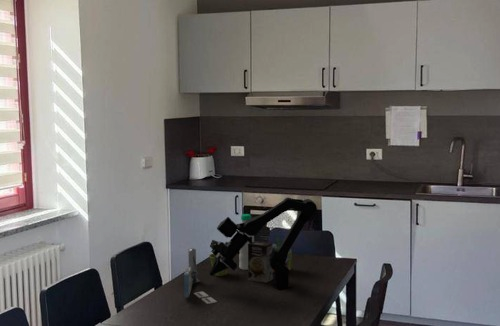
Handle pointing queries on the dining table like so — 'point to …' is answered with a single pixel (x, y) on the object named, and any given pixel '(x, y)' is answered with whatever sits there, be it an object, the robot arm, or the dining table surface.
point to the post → (193, 264)
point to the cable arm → (188, 281)
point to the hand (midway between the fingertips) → (210, 274)
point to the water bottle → (244, 247)
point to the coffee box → (259, 261)
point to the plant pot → (213, 263)
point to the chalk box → (289, 256)
